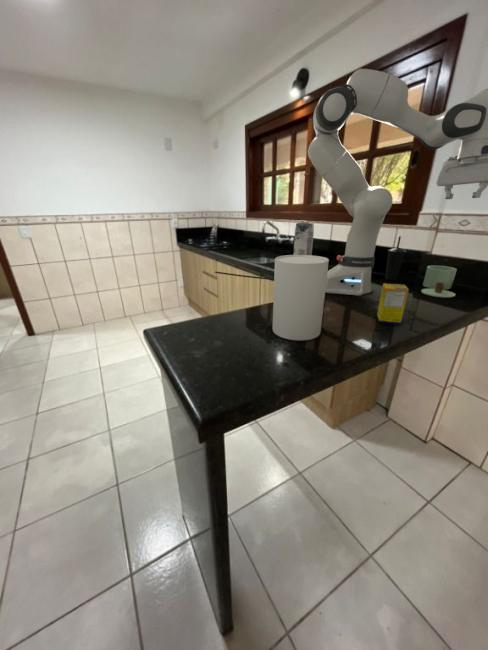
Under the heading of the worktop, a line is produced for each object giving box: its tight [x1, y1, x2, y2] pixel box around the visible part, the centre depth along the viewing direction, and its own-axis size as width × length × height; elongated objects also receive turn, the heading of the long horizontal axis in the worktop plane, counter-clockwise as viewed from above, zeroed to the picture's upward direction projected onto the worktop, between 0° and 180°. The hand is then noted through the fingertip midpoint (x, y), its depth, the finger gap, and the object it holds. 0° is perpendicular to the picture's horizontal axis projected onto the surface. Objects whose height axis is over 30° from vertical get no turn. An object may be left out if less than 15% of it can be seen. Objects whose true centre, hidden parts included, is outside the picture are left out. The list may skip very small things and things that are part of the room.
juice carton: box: [293, 219, 315, 256], centre depth 141 cm, size 9×10×27 cm
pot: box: [422, 265, 458, 290], centre depth 113 cm, size 10×10×8 cm
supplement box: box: [376, 282, 409, 326], centre depth 79 cm, size 6×6×11 cm
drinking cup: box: [384, 235, 407, 281], centre depth 125 cm, size 8×8×20 cm
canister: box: [271, 254, 330, 341], centre depth 71 cm, size 14×14×20 cm
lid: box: [420, 282, 456, 299], centre depth 103 cm, size 11×11×5 cm
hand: (461, 198), depth 92 cm, fingers open, 8 cm apart
